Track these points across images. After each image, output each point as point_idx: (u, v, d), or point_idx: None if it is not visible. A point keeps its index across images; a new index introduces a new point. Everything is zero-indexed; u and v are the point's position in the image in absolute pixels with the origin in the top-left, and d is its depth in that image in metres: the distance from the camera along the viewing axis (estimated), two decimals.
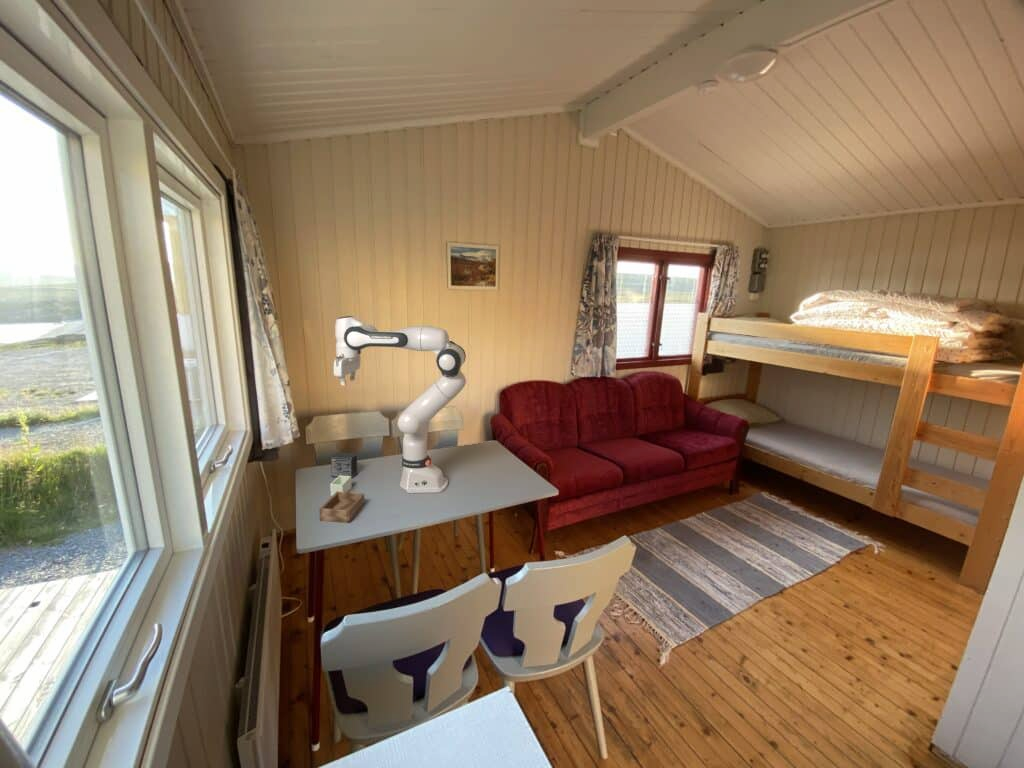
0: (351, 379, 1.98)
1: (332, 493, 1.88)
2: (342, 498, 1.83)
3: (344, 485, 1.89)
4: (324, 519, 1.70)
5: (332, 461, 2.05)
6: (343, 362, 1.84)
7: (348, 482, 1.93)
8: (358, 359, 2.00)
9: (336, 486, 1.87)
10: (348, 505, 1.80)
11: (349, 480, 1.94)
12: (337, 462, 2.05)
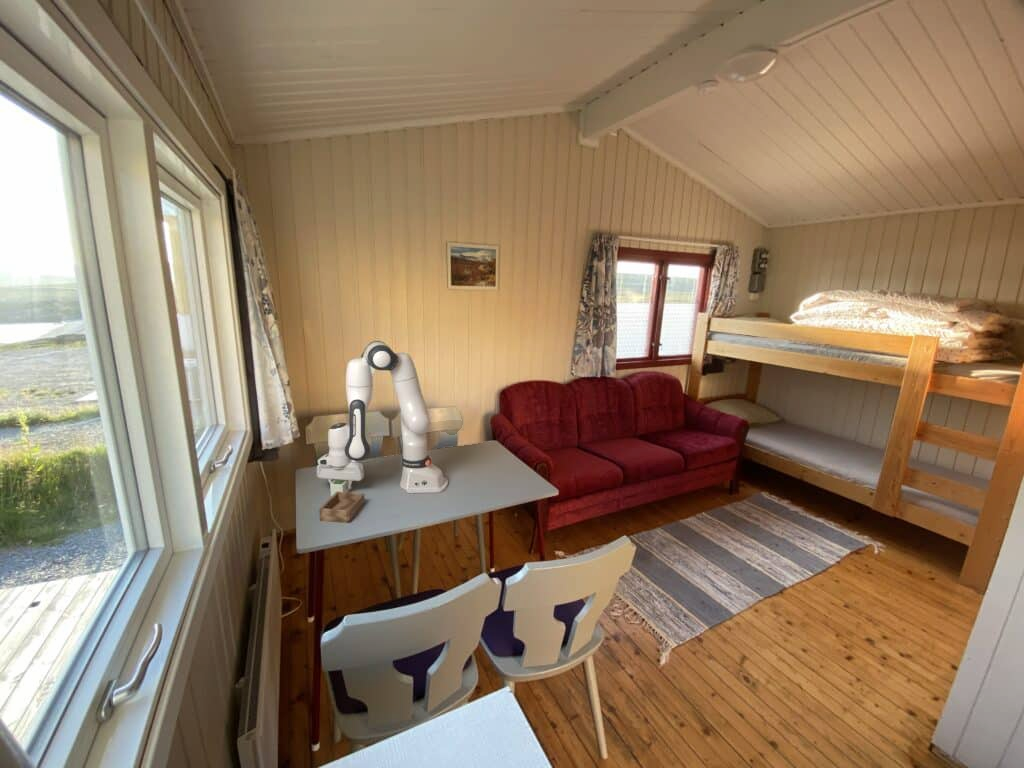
0: None
1: (332, 493, 1.88)
2: (342, 498, 1.83)
3: (344, 485, 1.89)
4: (324, 519, 1.70)
5: None
6: None
7: (348, 482, 1.93)
8: None
9: (336, 486, 1.87)
10: (348, 505, 1.80)
11: None
12: None
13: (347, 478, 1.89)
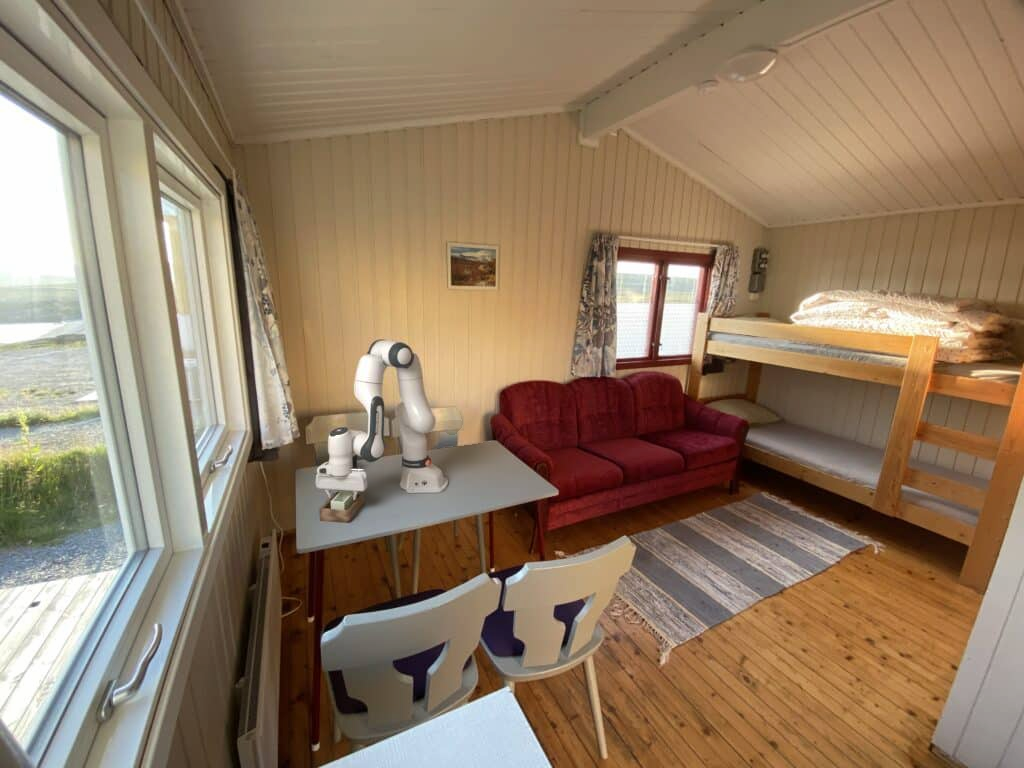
0: (332, 496, 1.75)
1: None
2: None
3: (346, 502, 1.73)
4: (324, 519, 1.70)
5: None
6: None
7: (350, 499, 1.77)
8: None
9: (337, 504, 1.71)
10: None
11: None
12: None
13: (349, 488, 1.72)
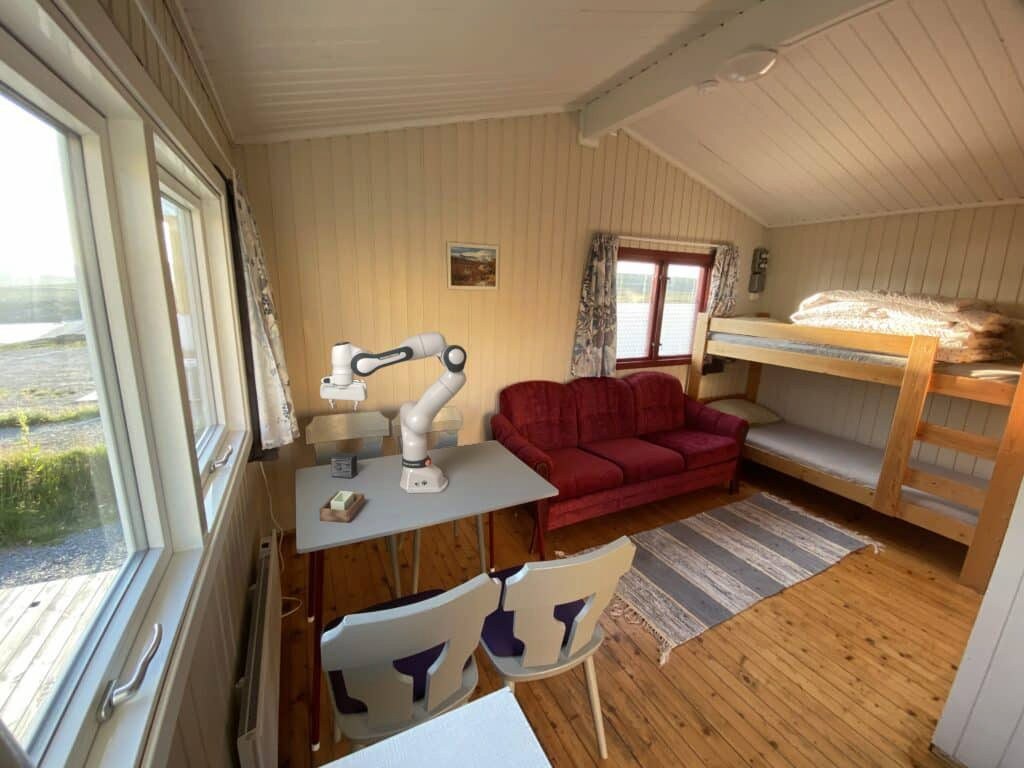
0: (335, 407, 1.91)
1: None
2: None
3: (346, 502, 1.73)
4: (324, 519, 1.70)
5: (332, 461, 2.05)
6: None
7: (350, 499, 1.77)
8: None
9: (337, 504, 1.71)
10: None
11: (351, 496, 1.78)
12: (337, 462, 2.05)
13: (351, 398, 1.88)
